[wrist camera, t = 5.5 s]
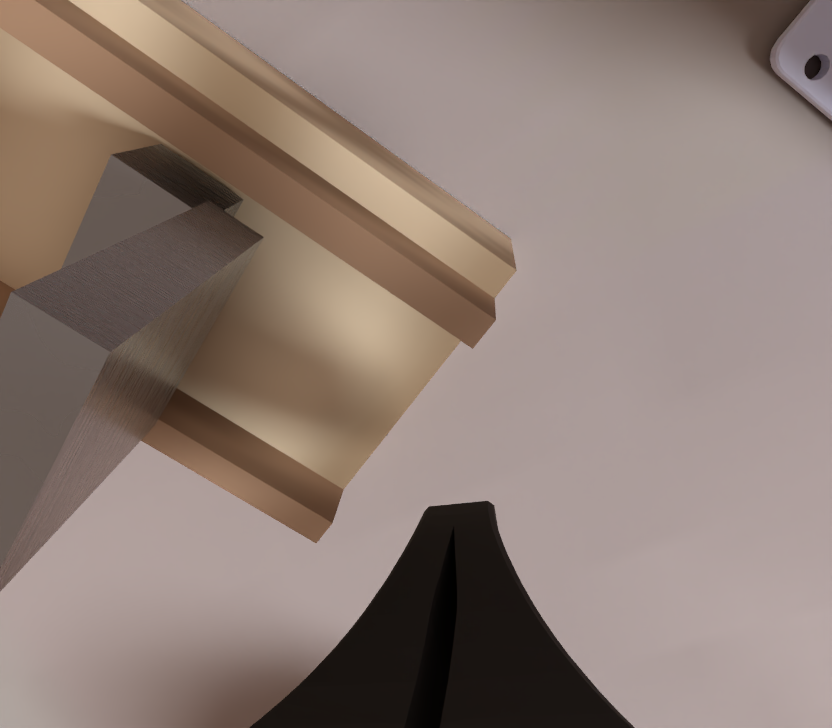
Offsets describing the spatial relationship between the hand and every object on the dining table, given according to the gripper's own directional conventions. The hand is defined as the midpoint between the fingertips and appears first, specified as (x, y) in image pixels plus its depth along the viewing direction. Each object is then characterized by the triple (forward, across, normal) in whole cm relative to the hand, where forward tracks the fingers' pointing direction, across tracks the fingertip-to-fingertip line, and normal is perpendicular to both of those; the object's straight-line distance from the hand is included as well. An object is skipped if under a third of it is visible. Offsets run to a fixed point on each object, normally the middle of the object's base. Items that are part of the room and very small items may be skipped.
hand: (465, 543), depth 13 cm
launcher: (+6, +6, -6) cm, 10 cm away
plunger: (+3, +6, -6) cm, 9 cm away
